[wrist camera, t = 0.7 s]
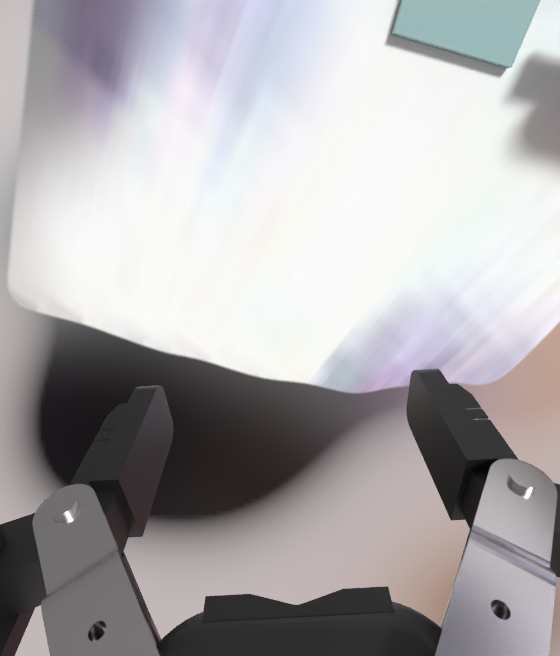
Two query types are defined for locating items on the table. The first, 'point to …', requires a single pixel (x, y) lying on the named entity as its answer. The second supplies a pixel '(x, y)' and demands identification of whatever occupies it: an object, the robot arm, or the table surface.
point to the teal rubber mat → (468, 26)
